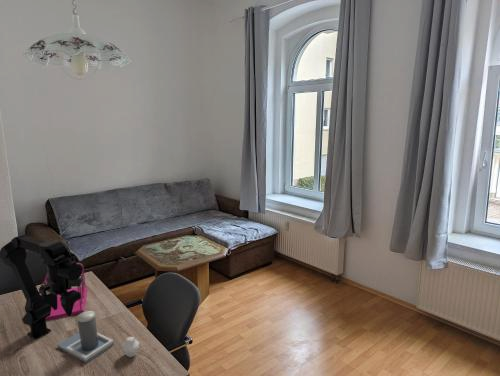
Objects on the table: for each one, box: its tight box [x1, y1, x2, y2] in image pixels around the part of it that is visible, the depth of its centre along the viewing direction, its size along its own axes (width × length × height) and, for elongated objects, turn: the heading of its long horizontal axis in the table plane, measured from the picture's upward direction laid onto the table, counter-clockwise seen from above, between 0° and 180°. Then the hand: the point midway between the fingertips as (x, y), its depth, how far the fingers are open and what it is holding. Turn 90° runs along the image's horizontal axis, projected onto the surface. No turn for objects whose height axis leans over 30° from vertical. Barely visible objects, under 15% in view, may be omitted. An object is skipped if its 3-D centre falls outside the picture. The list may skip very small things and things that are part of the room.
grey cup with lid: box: [77, 310, 99, 351], centre depth 134 cm, size 6×6×13 cm
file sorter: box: [39, 262, 88, 321], centre depth 167 cm, size 17×25×16 cm
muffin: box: [121, 336, 140, 358], centre depth 131 cm, size 6×6×7 cm
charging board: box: [56, 332, 115, 364], centre depth 137 cm, size 18×12×2 cm, turn 59°
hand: (62, 312), depth 136 cm, fingers open, 9 cm apart
